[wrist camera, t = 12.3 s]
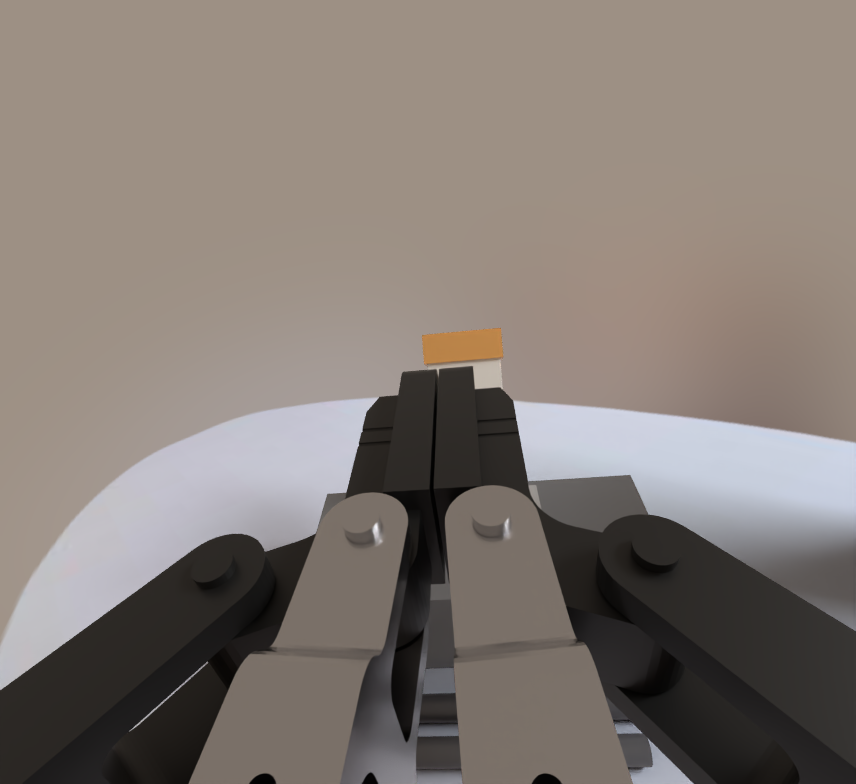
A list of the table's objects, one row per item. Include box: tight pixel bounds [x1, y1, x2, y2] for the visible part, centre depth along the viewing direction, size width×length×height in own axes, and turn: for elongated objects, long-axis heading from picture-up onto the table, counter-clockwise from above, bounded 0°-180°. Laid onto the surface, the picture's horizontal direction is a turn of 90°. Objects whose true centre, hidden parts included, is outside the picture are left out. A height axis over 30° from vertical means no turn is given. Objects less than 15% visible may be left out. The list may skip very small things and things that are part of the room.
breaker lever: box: [422, 328, 503, 390], centre depth 34 cm, size 2×6×14 cm
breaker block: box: [316, 475, 653, 769], centre depth 33 cm, size 17×24×11 cm
